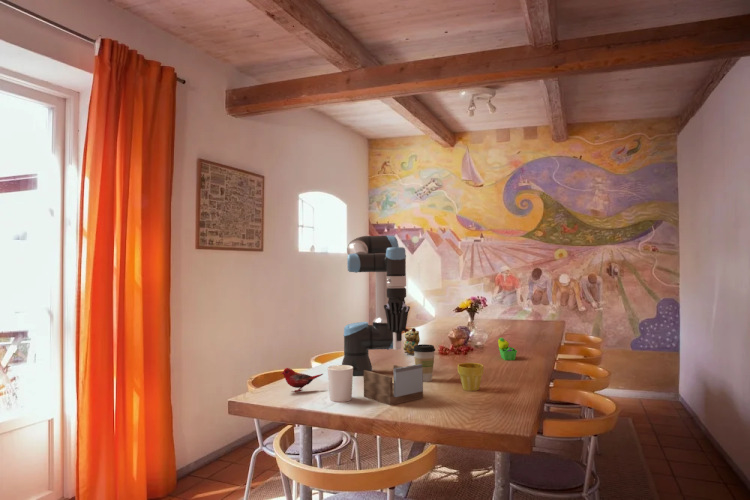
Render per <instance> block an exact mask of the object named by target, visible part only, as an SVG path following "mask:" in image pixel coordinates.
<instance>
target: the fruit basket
mask: <svg viewBox="0 0 750 500" xmlns="http://www.w3.org/2000/svg"><path fill="white" fill-rule="evenodd" d="M497 343H498V350H499V354H500V357H501V359H503V360H504V361H515V360H516V357H517V353H518V350H517V349H515V348H514V347H510V345H509V344H510V343H509V342H508V341H507V340H506V339H505V338H504V337H499V338H498V340H497Z"/></svg>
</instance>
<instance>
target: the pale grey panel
mask: <svg viewBox="0 0 750 500" xmlns="http://www.w3.org/2000/svg"><path fill="white" fill-rule="evenodd" d="M393 383H394V397H399V396H403V395H407V394H412V393H416V392H421V391H423V392H424V382H422V364H418V365H415V364H414V365H407V366H402V367H401V368H395V369H394V368H393Z"/></svg>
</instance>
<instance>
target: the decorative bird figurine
mask: <svg viewBox="0 0 750 500" xmlns="http://www.w3.org/2000/svg"><path fill="white" fill-rule="evenodd" d="M280 375H283V377H284V378H285V381H286V383H287V385H289V386H290V387H292V388H295V389H296V390H291V391H290V392H292V393H294V392H295V393H298V392H302V391H305V390H304V387H305V386H308V385H309V384H311V383H312V381H313V380H315V379H317V378H320V377H322V376H323V375H324V373H321V374H315V375H313V376H311V375H310V374H305V373H300V372H296V371H295V370H294V369H292V368H289V367H286V368H284V369H283V371H282V372H281V373H280Z"/></svg>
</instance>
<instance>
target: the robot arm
mask: <svg viewBox="0 0 750 500" xmlns="http://www.w3.org/2000/svg"><path fill="white" fill-rule="evenodd" d="M346 253H347V258H346V259H347V260H346V261H347V262H346V265H347V272H349V273H375V318H374V319H372V324H369V322H368V321H359V322H358V321H357V322H353V323H349V324H346V325H345V326H344V327H343V344H344V345H343V359H342V362H341V365H349V366H352V367H353V376H364V371H365V370H367V371H371V372H373V365H372V362H371V360H370V355H369V351H370V350H394V351H398V350H402V338H403V337H402V333H403V332H405V330H406V328H407V323H408V317H409V316H408V315H409V311H410V309H411V306H410V305H407V304H406V300H405V298H406V297H407V288H405V287H406V286H407V276H406V275H407V271H406V270H407V269H406V268H407V265H406V262H407V260H406V259H407V255H406V253H407V252H406V248H405V247H403V246H402V247H401V246H400V245H399V243H398V238H397V237H396V236H393V235H387V234H386V235H363V236H359V237H356V238H354V239H353V240H351V241H350V242H349V243H348V245H347V248H346Z"/></svg>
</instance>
